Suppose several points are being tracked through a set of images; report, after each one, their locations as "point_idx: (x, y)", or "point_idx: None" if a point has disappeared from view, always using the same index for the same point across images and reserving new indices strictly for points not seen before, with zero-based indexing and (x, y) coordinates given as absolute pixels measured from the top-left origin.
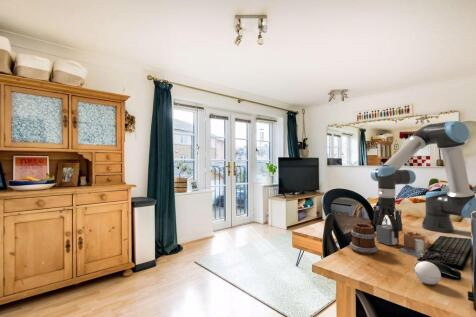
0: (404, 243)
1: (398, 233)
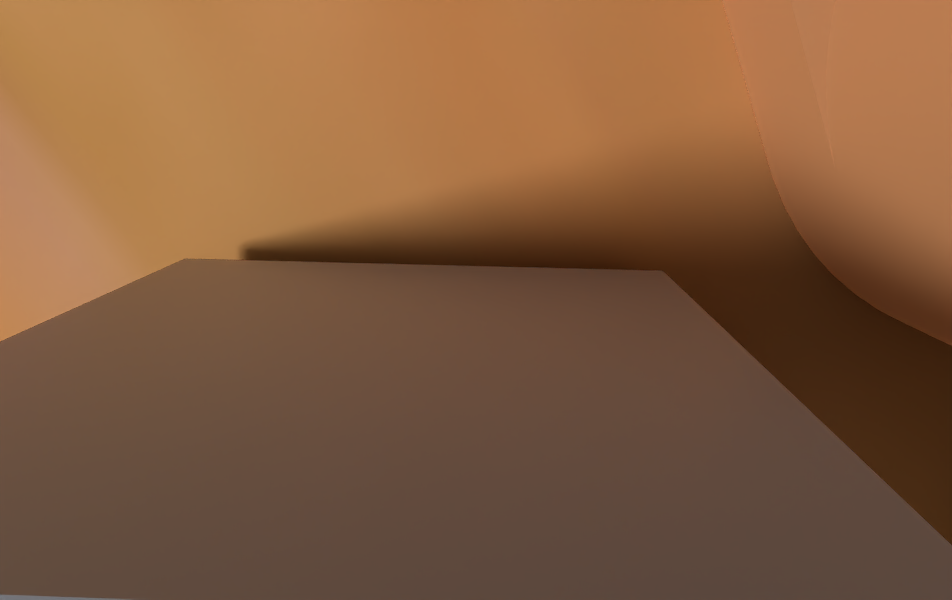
0: (904, 315)
1: (781, 405)
